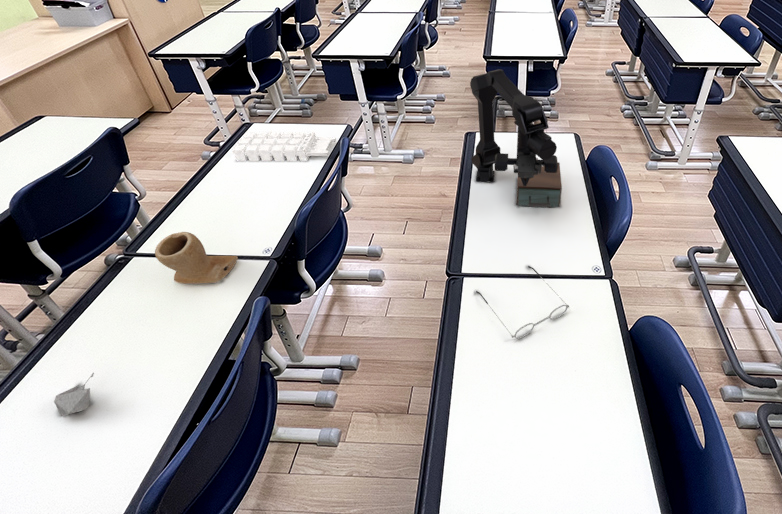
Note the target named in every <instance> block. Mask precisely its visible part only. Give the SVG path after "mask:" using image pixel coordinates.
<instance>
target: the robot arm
mask: <svg viewBox="0 0 782 514" xmlns="http://www.w3.org/2000/svg"><path fill="white" fill-rule="evenodd" d="M469 85H470V89H471V94H472V95H473V97H474V98H475V99H476V101H477V111H478V112H477V113H478V128H479V141H478V142H477V145H476V146H475V154H474V155H472V156H471V158H470V160H471V164H472V165H473V166H474V167H475V168H476V169H477V171H476V176H475V182H478V183H494V182H495V174H496V173H495V171H496V172H506V171H507V170H508V168H509V167H508V166H512V167H513V173H514V174H517V175H518V177H519V178H521V181H522V183H523V186H526V185H527V183H528V181H529V179H530V178H533V177H534V175H538V173H541V167H544V166H545V167H544V171H546V172H547V173H556V172H557V169H558V162H559V161H558V156H557V155H555V154H556V152H557V144H556V142H555V141H553V140H552V136H551V135H549V134H547V133H546V132H545V130H547V129H549V127H550V126H549V123H548V122H549V120H548V118H547V115H546V113H545V110H544V107H543V105H542V104H541V103H540V102H539V101H538V100H537V99H535V98H534V97H532V96H531V95H530V96H529V95H526V94H524V93H523V92H522V91H521V90H520V89H519V87H517V86H516V85H515V84H514V82H513V81H512V80H510V78H509V77H508V76H507V75H506V73H505V70H503V69H495V70H490V71H488V72H486V73H482V74H478V75H474V76H472V77H471V79H470V82H469ZM497 95H500V96H501V98H502V99H503V100H504V102H506V103H507V104H508V105H509V107H510V108H511V114H512V115H511V116H512V117H513V118H514V122H513V123H514V124H515V125H516V126H517V139H516V157H509V153H501V147H500V145H498V143H497V142H496V141H495V122H494V100H495V98H496V97H497ZM535 122H538V123H535ZM534 123H535V124H534Z"/></svg>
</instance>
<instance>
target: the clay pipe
mask: <svg viewBox="0 0 782 514" xmlns="http://www.w3.org/2000/svg"><path fill="white" fill-rule="evenodd" d="M154 256H155V258H156V260H157V261H158V262H159V263H160V264H161V265H163V266H164V267H166V268H168V269H170V270H172V271H175V272H174V275H173V281H174V282H175V283H178V284H185V285H186V284H187V285H188V284H189V285H191V284H214V283H218V282H220V281H221V280H223V279H224V278H225V277H227V276H228V274H229V273H230V272H231V271H232V270H233V269H234V267H235V265H236V264H237V261H238V259H239V257H238V256H237V255H207V253H206V249H205V246H204V244H203V243H202V241H201V240H200V239H199V238H198V237H197V236H196V235H195V234H193V233H192V232H188V231H180V232H175V233H171V234H169V235H167V236H165V237H164V238H163V239H161V240H160V241H159V243H158V244H157V245H156V247H155V249H154Z"/></svg>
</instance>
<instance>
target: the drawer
mask: <svg viewBox="0 0 782 514" xmlns="http://www.w3.org/2000/svg"><path fill="white" fill-rule="evenodd" d="M559 195H560V190H557V189H550V190H547V189H526V188H519V199H518V205H517V206H525V207H528V208H544V209H545V208H547V209H550V208H551V207H553V208H559V207H558V204H559Z"/></svg>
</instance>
